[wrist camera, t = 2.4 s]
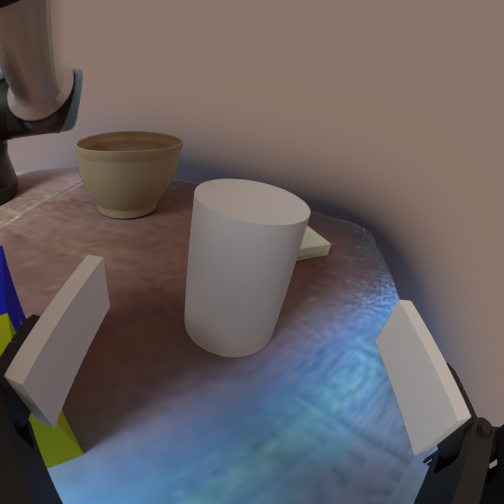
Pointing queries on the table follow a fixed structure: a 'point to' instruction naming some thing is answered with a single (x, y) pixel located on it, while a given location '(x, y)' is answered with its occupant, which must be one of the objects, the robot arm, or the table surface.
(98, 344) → the table surface
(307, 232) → the tray
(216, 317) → the white cylinder
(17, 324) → the puzzle toy
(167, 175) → the planter bowl
